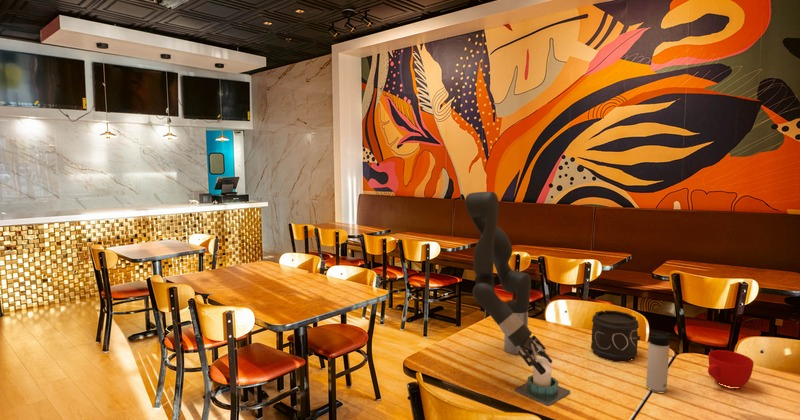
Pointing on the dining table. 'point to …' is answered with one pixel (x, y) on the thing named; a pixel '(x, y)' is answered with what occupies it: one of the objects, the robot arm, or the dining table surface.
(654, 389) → the travel mug
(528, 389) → the socket plate
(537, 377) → the white crystal
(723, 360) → the ceramic cup
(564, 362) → the dining table surface
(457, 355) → the dining table surface
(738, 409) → the dining table surface
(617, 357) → the black coffee canister
